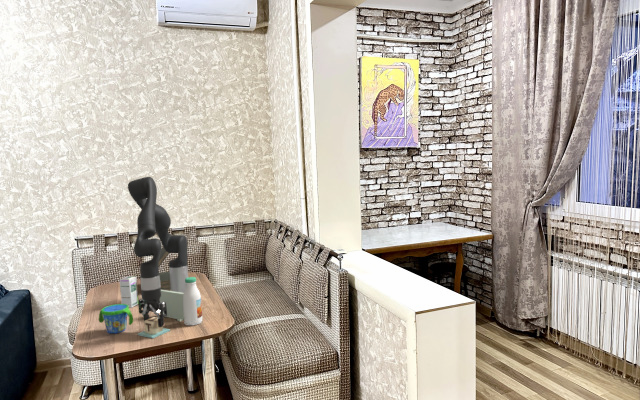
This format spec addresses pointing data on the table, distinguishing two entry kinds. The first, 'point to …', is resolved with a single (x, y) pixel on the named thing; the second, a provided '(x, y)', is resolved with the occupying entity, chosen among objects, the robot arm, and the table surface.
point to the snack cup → (115, 317)
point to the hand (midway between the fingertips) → (153, 325)
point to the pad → (153, 334)
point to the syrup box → (129, 291)
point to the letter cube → (152, 326)
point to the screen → (173, 304)
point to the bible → (164, 275)
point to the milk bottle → (192, 303)
